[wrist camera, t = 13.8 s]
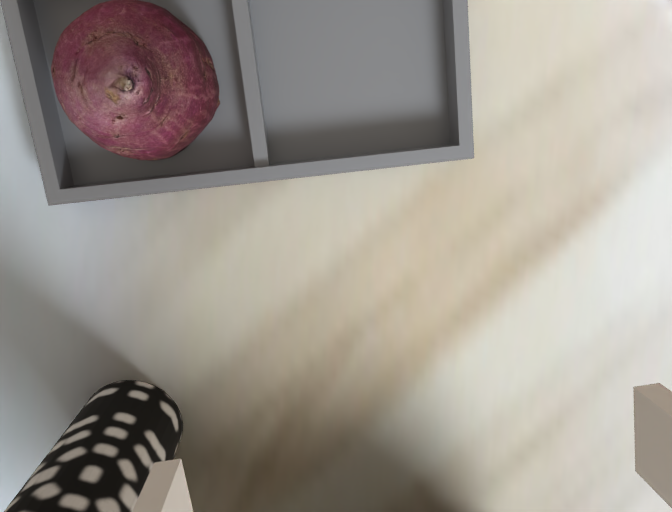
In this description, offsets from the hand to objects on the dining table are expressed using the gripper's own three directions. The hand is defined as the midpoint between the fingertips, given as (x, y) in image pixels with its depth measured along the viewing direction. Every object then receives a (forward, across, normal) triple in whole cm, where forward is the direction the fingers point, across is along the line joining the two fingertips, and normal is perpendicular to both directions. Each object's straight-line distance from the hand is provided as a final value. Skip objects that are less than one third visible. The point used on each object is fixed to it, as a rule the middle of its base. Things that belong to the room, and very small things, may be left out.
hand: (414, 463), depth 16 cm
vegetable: (+28, +12, -14) cm, 34 cm away
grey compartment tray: (+29, +5, -14) cm, 32 cm away
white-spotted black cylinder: (+30, +20, +12) cm, 38 cm away
